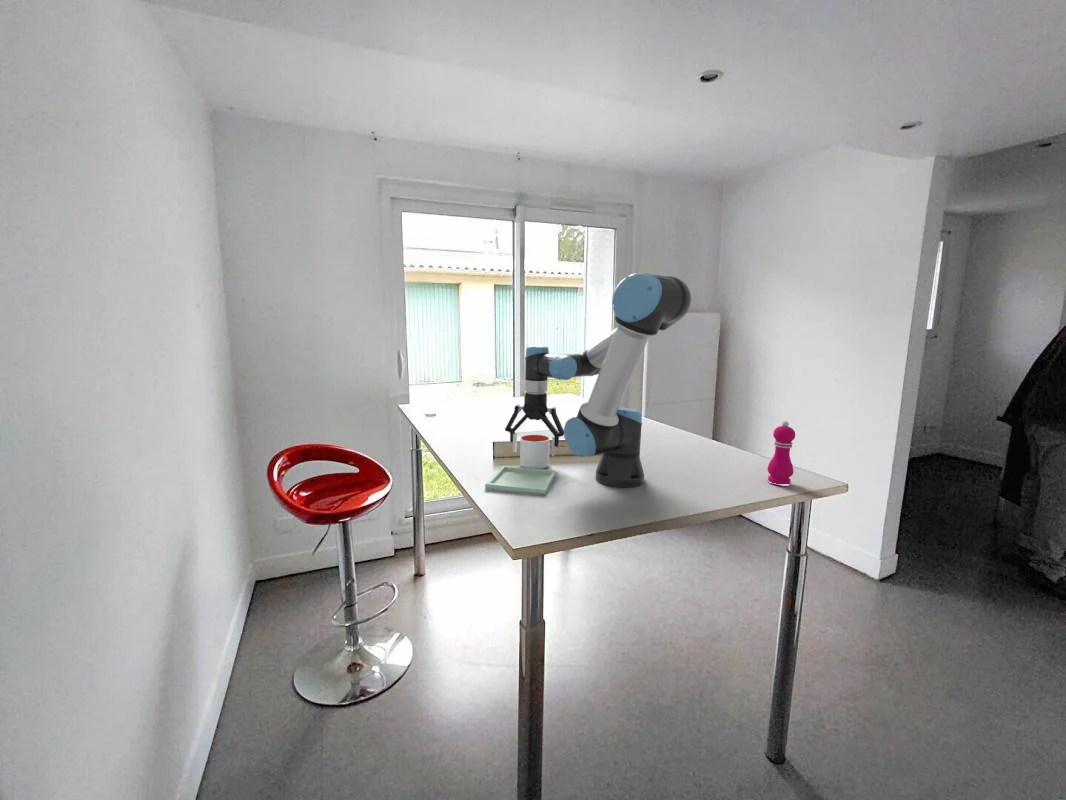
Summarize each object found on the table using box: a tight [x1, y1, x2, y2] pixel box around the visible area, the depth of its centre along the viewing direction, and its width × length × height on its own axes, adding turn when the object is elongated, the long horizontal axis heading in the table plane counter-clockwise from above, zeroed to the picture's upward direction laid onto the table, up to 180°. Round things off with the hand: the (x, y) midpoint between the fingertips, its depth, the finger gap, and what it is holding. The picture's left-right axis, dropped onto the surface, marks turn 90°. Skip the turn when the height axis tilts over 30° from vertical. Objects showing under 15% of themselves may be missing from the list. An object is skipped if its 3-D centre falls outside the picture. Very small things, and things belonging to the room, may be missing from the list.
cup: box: [519, 434, 551, 469], centre depth 159 cm, size 10×10×10 cm
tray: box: [484, 465, 557, 496], centre depth 143 cm, size 18×18×2 cm
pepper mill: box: [766, 420, 796, 485], centre depth 145 cm, size 7×7×20 cm
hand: (533, 453), depth 159 cm, fingers open, 13 cm apart
